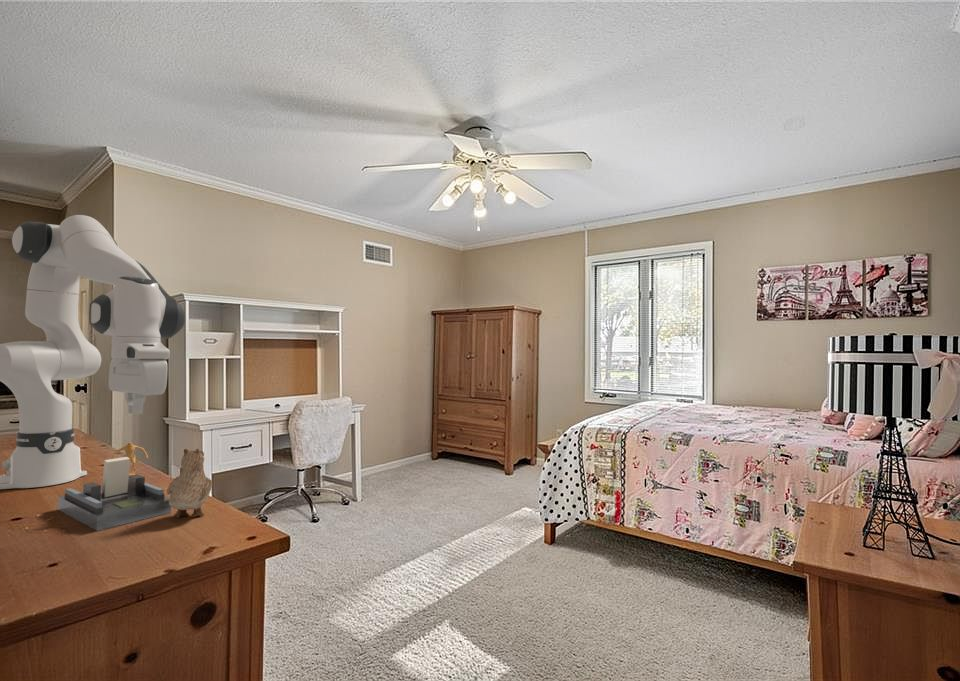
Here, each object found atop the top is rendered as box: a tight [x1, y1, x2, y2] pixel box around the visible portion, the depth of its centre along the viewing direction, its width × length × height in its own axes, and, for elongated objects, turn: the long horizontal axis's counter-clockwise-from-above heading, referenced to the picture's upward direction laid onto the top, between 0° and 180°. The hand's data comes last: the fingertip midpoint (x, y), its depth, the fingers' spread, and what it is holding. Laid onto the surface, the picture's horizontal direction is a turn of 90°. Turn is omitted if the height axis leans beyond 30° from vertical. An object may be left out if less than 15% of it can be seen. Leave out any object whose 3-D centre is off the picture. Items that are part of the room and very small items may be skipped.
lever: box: [101, 456, 131, 499], centre depth 112 cm, size 2×5×9 cm, turn 146°
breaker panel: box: [57, 473, 172, 532], centre depth 112 cm, size 23×14×7 cm, turn 56°
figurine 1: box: [111, 441, 149, 476], centre depth 131 cm, size 8×6×12 cm
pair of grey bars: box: [64, 482, 165, 513], centre depth 112 cm, size 19×13×2 cm
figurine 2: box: [166, 448, 213, 519], centre depth 109 cm, size 9×10×15 cm
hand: (135, 413), depth 107 cm, fingers closed
